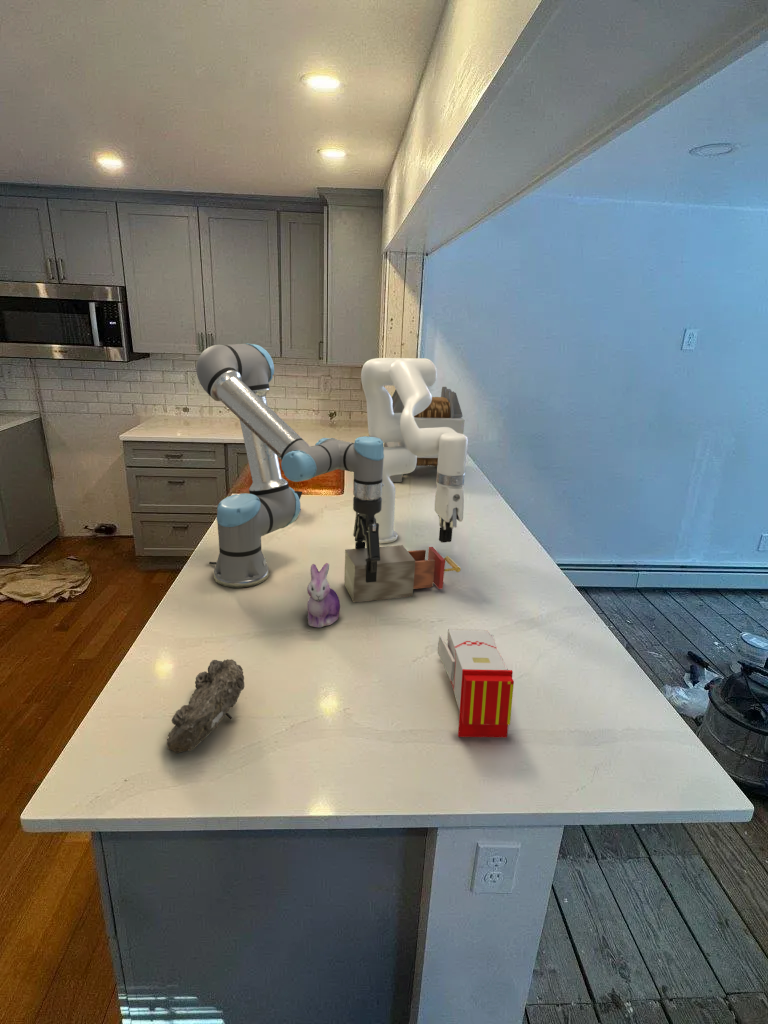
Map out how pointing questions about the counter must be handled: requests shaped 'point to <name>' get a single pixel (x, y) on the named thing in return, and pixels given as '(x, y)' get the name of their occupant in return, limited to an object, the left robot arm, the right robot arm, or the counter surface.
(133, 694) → the counter surface
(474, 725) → the toy
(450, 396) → the transformer
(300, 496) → the figurine character
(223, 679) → the fossil
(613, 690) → the counter surface
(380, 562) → the cabinet
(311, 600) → the figurine
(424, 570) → the drawer
